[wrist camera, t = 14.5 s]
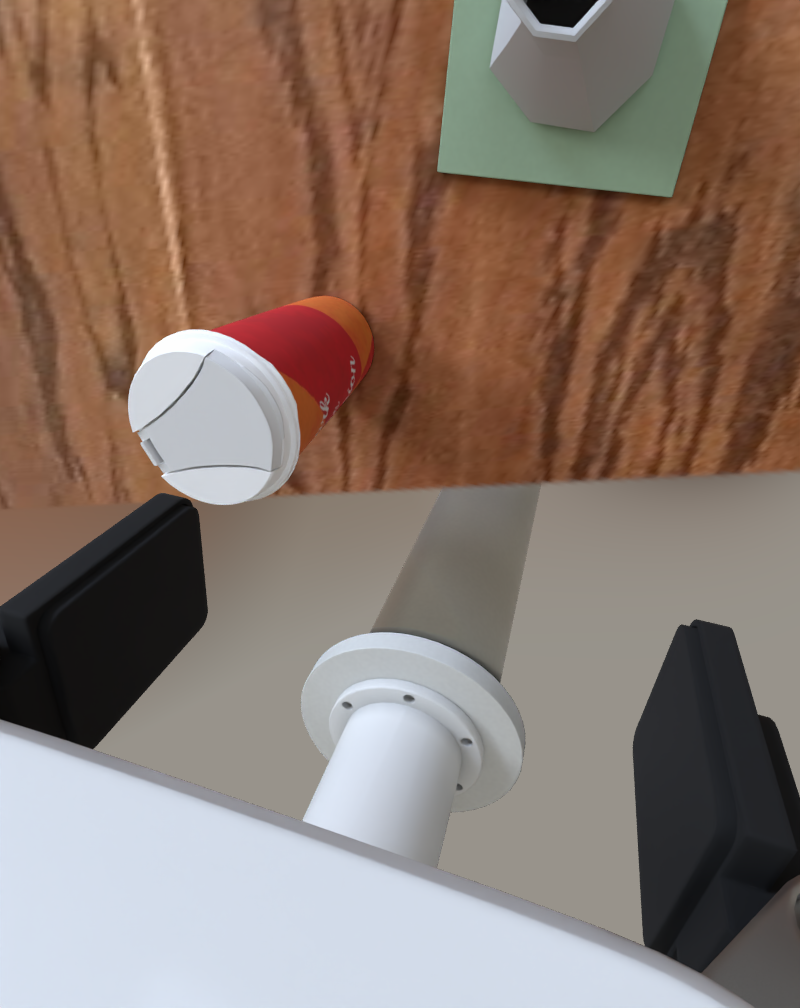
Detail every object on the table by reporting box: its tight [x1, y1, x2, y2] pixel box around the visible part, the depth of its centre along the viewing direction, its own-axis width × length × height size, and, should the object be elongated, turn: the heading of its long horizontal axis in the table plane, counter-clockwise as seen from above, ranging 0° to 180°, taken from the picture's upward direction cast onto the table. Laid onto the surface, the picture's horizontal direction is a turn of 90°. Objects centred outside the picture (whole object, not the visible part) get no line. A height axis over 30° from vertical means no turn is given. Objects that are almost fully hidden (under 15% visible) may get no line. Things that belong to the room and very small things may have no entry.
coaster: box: [437, 0, 728, 197], centre depth 26 cm, size 11×11×1 cm
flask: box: [490, 0, 675, 132], centre depth 21 cm, size 7×7×10 cm
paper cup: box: [128, 296, 374, 505], centre depth 30 cm, size 8×8×14 cm
